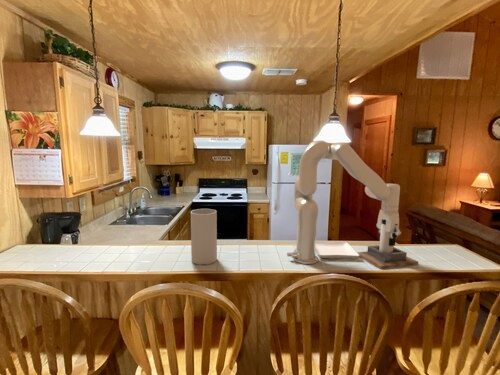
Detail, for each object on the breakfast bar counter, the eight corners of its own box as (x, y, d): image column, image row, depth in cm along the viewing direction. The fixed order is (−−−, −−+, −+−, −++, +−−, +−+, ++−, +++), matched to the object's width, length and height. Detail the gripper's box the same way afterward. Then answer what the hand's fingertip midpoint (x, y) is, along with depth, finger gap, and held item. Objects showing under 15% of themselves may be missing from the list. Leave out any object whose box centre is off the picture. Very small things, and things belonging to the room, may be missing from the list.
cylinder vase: (203, 253, 145) (202, 207, 142) (221, 258, 139) (221, 210, 135) (186, 261, 134) (185, 212, 131) (205, 267, 128) (205, 215, 125)
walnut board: (380, 269, 128) (380, 266, 128) (356, 255, 145) (356, 252, 145) (418, 264, 134) (418, 261, 133) (390, 251, 151) (390, 249, 151)
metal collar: (384, 262, 132) (385, 255, 131) (367, 253, 144) (367, 246, 143) (405, 260, 135) (406, 252, 134) (387, 251, 147) (387, 244, 146)
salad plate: (360, 261, 138) (360, 255, 137) (318, 260, 138) (318, 254, 138) (346, 246, 159) (346, 241, 158) (309, 246, 159) (309, 240, 159)
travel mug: (395, 258, 136) (399, 218, 133) (382, 257, 136) (385, 218, 133) (389, 253, 142) (392, 215, 139) (376, 253, 142) (379, 215, 140)
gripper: (371, 205, 143) (368, 238, 146) (396, 212, 127) (393, 249, 129) (383, 204, 145) (380, 237, 147) (410, 211, 128) (406, 248, 131)
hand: (386, 242), depth 138 cm, fingers closed on travel mug, 6 cm apart
